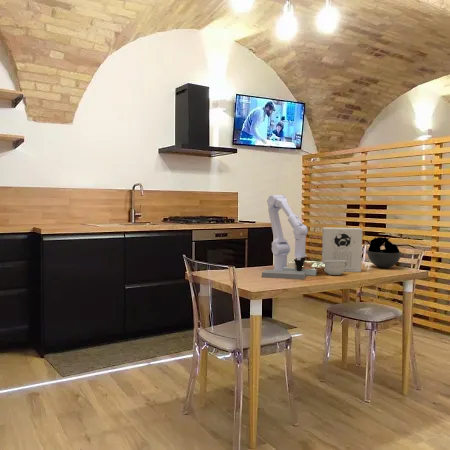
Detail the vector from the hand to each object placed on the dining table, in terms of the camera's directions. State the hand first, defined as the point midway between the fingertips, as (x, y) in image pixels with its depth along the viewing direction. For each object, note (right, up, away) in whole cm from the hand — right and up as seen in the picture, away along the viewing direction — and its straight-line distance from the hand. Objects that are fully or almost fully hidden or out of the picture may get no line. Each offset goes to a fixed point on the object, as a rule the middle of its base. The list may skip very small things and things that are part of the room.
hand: (299, 271), depth 260 cm
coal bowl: (+56, -1, +28) cm, 63 cm away
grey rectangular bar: (0, -2, 0) cm, 2 cm away
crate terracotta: (+4, +2, -1) cm, 5 cm away
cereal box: (+27, -1, +15) cm, 30 cm away
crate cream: (-4, +2, +1) cm, 5 cm away
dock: (-10, -2, -10) cm, 14 cm away
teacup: (+21, -2, 0) cm, 21 cm away
